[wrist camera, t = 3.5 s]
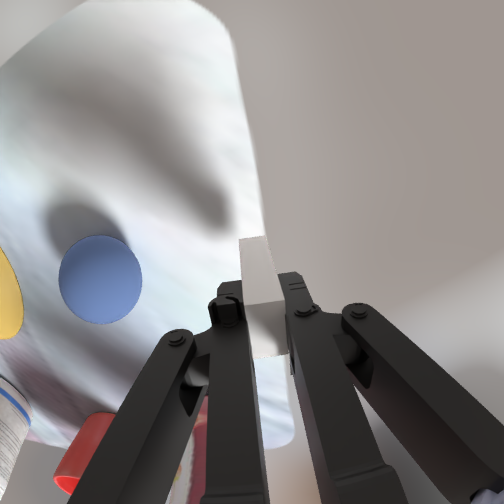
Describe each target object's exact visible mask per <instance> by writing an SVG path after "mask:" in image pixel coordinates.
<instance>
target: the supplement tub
mask: <svg viewBox="0 0 504 504" xmlns="http://www.w3.org/2000/svg"><path fill="white" fill-rule="evenodd" d="M32 420H33V412H32V409H31V407H30V405H29V404H28V402H27V401H26V400H25V398H24V397H23V396H22V395H21V394H20V393H19V392H18V391H17V390H16V389H15V388H14V387H13V386H11V385H10V384H9V383H8V382H6V381H5V380H4V379H2V378H0V500H1V498H2V495H3V494H4V491H5V489H6V486H7V483H8V480H9V478H10V475H11V472H12V469H13V466H14V464H15V461H16V458H17V456H18V453H19V451H20V448H21V446H22V443H23V441H24V439H25V436H26V434H27V432H28V429H29V427H30V425H31V422H32Z"/></svg>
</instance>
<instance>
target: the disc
mask: <svg viewBox="0 0 504 504" xmlns="http://www.w3.org/2000/svg"><path fill="white" fill-rule="evenodd" d="M23 316H24V307H23V300H22V295H21V291H20V287H19V284H18V281H17V278H16V276H15V273H14V271H13V269H12V267H11V265H10V263H9V261H8V259H7V257H6V256H5V254H4V252H3V251H2V249H1V248H0V339H9V338H11V337H13V336H15V335H16V334H17V332H18V331H19V330H20V328H21V326H22V322H23Z"/></svg>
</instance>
